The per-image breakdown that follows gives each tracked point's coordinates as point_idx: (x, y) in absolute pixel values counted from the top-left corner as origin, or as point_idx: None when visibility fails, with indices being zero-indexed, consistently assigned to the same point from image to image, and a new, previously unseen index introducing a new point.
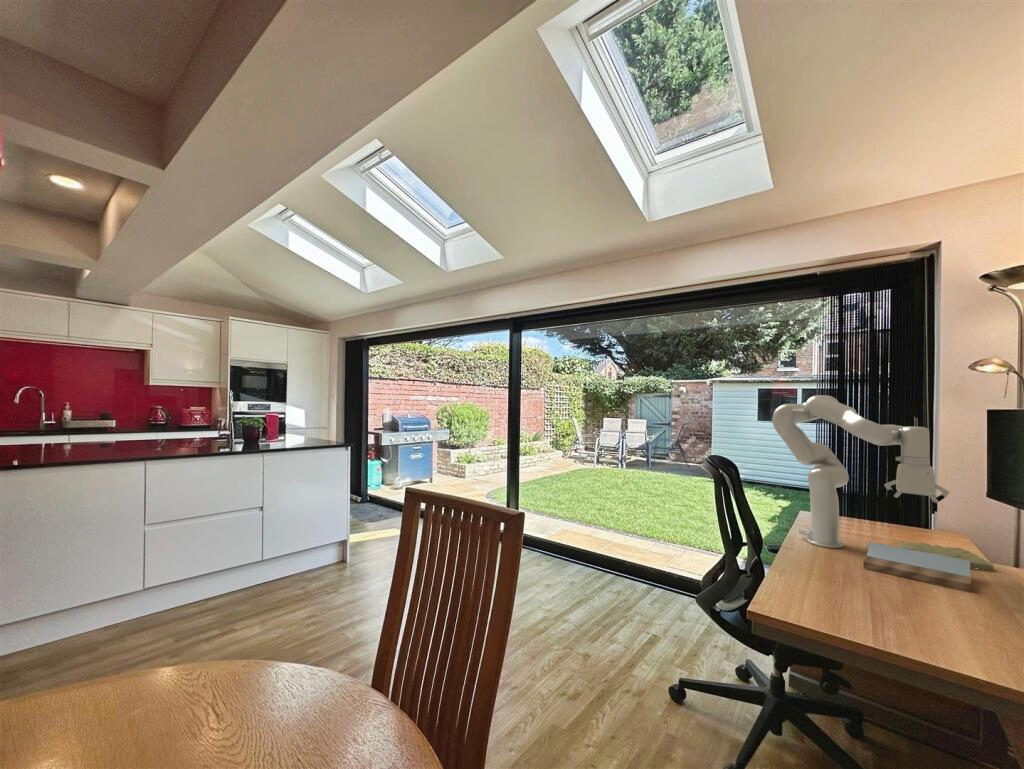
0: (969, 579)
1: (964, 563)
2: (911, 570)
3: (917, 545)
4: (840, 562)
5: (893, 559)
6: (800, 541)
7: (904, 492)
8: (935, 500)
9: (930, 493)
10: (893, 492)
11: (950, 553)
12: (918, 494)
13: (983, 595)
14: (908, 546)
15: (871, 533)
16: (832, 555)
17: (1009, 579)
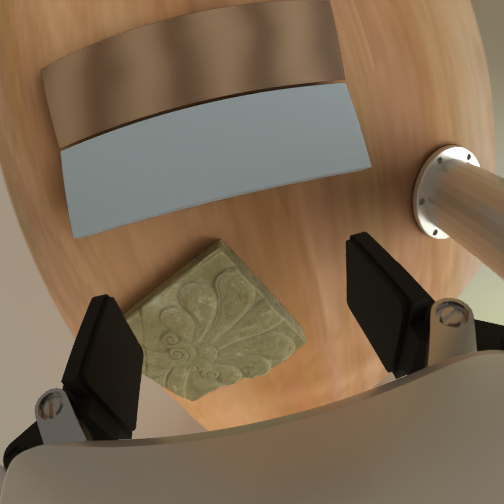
0: (54, 120)
1: (81, 213)
2: (191, 30)
3: (263, 344)
4: (380, 17)
5: (270, 101)
6: (483, 154)
7: (423, 374)
8: (55, 414)
9: (25, 473)
10: (489, 344)
11: (183, 344)
12: (191, 437)
13: (31, 78)
14: (278, 317)
15: (363, 376)
16: (415, 75)
17: (58, 294)
